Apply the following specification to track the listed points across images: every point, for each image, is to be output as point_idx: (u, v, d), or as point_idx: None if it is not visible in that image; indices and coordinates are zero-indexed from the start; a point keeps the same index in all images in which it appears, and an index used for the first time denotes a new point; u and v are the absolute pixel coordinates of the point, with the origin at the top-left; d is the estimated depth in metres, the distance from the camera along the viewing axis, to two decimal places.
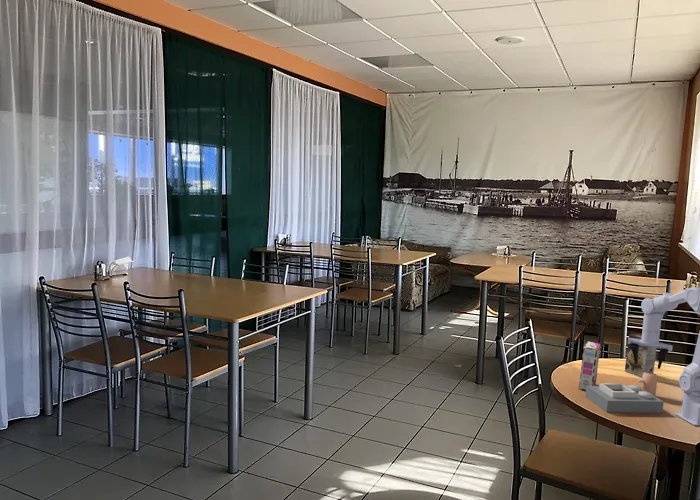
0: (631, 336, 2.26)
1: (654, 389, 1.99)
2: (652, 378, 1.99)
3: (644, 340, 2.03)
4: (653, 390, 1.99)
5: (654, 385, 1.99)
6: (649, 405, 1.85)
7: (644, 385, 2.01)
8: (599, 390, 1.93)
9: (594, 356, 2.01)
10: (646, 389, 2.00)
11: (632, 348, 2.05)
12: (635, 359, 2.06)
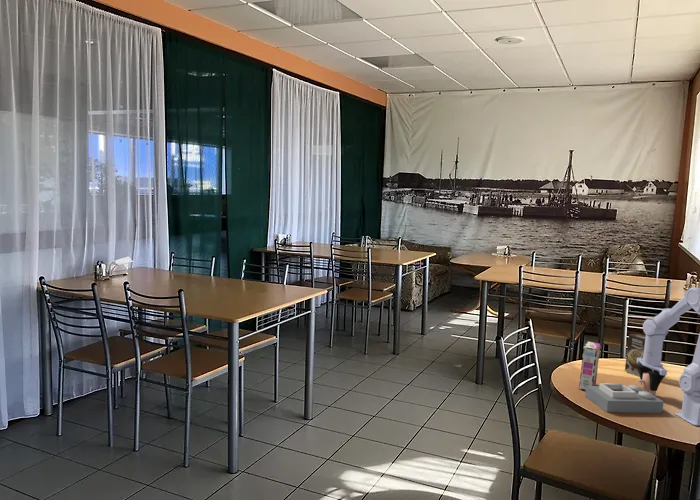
0: (631, 336, 2.26)
1: None
2: None
3: (643, 360, 2.02)
4: None
5: None
6: (649, 405, 1.85)
7: (644, 385, 2.01)
8: (599, 390, 1.93)
9: (594, 356, 2.01)
10: (646, 389, 2.00)
11: (637, 368, 2.05)
12: None
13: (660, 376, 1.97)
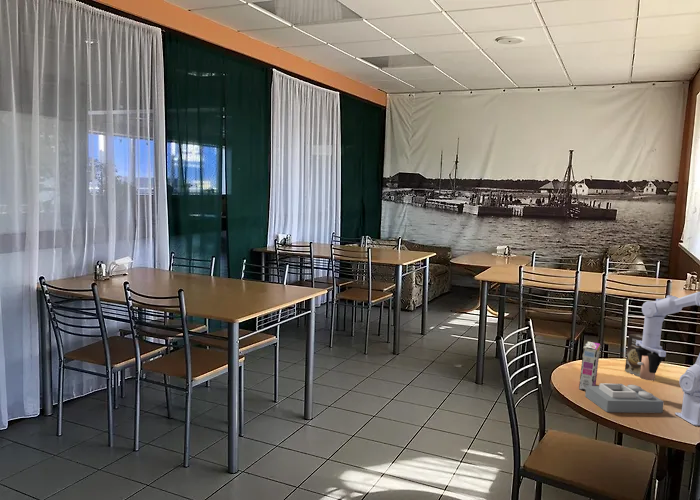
0: (631, 336, 2.26)
1: None
2: None
3: (642, 342, 2.00)
4: None
5: None
6: (649, 405, 1.85)
7: (643, 367, 1.99)
8: (599, 390, 1.93)
9: (594, 356, 2.01)
10: (645, 372, 1.98)
11: (636, 350, 2.03)
12: None
13: (659, 358, 1.95)
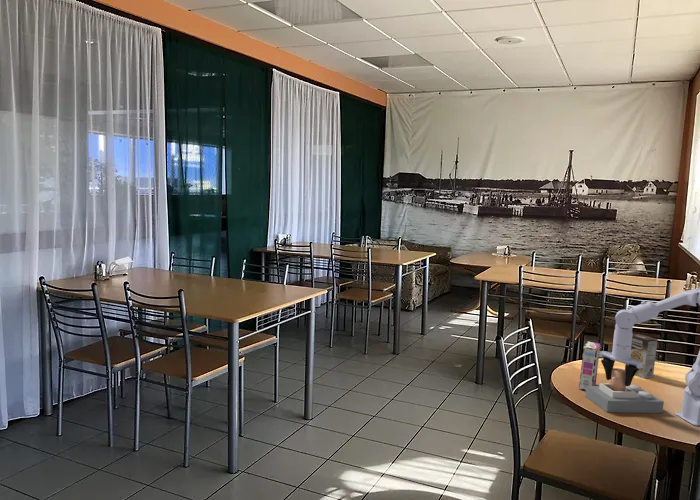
0: None
1: None
2: (625, 374, 1.88)
3: (613, 354, 1.89)
4: (625, 386, 1.89)
5: None
6: (649, 405, 1.85)
7: (616, 382, 1.89)
8: (599, 390, 1.93)
9: (594, 356, 2.01)
10: (619, 386, 1.88)
11: (602, 362, 1.92)
12: (606, 374, 1.92)
13: (634, 370, 1.87)
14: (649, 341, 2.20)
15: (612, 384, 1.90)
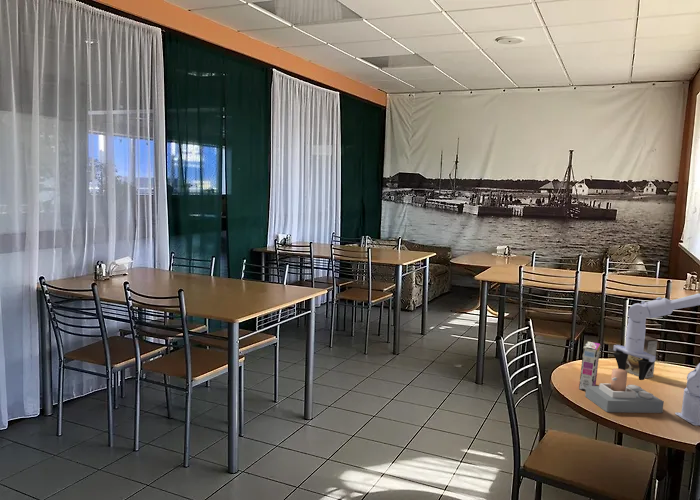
0: None
1: (625, 385, 1.89)
2: (625, 375, 1.88)
3: (625, 347, 1.90)
4: (625, 386, 1.89)
5: (626, 381, 1.89)
6: (649, 405, 1.85)
7: (616, 382, 1.89)
8: (599, 390, 1.93)
9: (594, 356, 2.01)
10: (619, 387, 1.88)
11: (615, 355, 1.93)
12: (619, 367, 1.93)
13: (648, 364, 1.86)
14: (649, 341, 2.20)
15: (612, 384, 1.90)
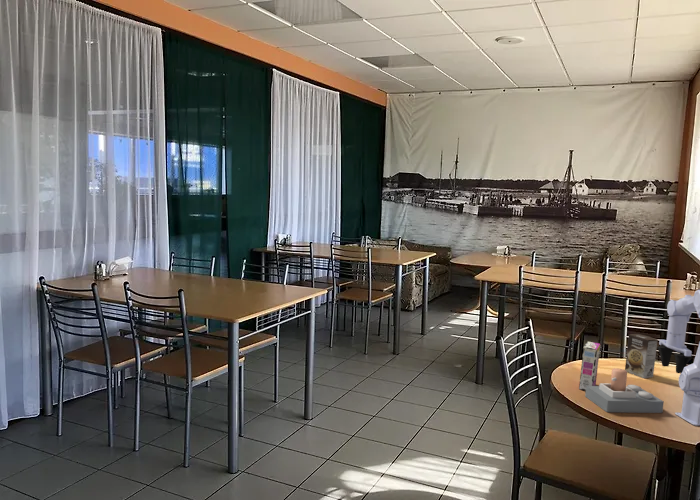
0: (631, 336, 2.26)
1: (625, 385, 1.89)
2: (625, 375, 1.88)
3: (666, 341, 2.00)
4: (625, 386, 1.89)
5: None
6: (649, 405, 1.85)
7: (616, 383, 1.89)
8: (599, 390, 1.93)
9: (594, 356, 2.01)
10: (619, 387, 1.88)
11: (658, 348, 2.04)
12: (661, 360, 2.04)
13: (686, 358, 1.95)
14: (649, 341, 2.20)
15: (612, 384, 1.90)
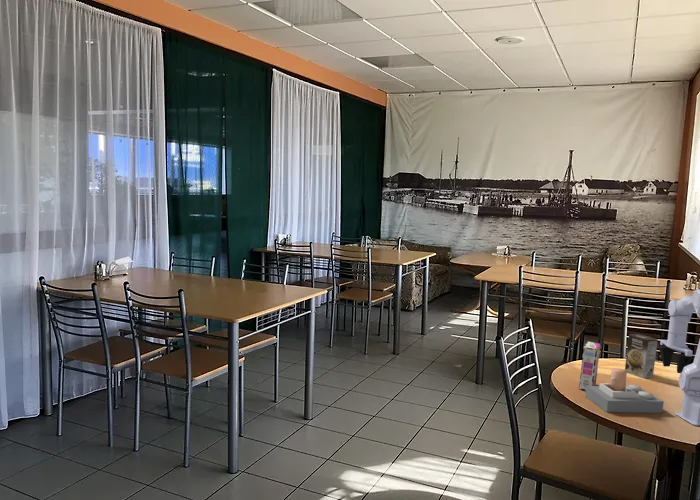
0: (631, 336, 2.26)
1: (625, 385, 1.89)
2: (624, 375, 1.88)
3: (667, 341, 2.01)
4: (625, 386, 1.89)
5: (625, 381, 1.89)
6: (649, 405, 1.85)
7: (616, 382, 1.89)
8: (599, 390, 1.93)
9: (594, 356, 2.01)
10: (619, 387, 1.88)
11: (659, 349, 2.05)
12: (663, 361, 2.04)
13: (687, 358, 1.95)
14: (649, 341, 2.20)
15: (611, 384, 1.90)
